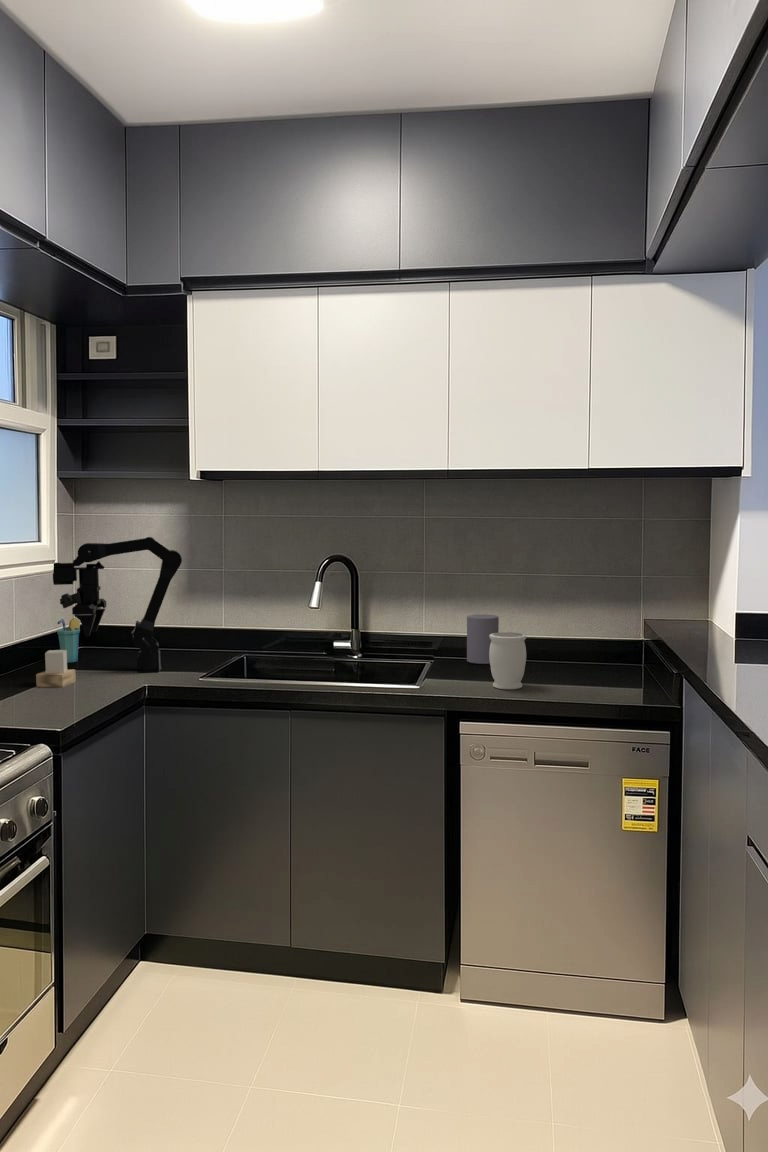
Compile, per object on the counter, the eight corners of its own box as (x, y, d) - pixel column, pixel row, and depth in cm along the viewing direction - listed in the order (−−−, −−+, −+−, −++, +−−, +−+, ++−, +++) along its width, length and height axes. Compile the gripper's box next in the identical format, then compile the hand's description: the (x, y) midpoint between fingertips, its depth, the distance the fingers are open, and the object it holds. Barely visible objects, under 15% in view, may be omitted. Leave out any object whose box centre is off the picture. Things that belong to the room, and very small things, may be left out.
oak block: (75, 682, 261) (75, 669, 261) (62, 688, 253) (62, 674, 253) (50, 682, 262) (49, 669, 262) (36, 687, 254) (36, 674, 254)
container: (485, 657, 295) (485, 613, 294) (504, 662, 286) (505, 617, 285) (460, 661, 290) (460, 615, 289) (479, 665, 281) (479, 619, 280)
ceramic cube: (67, 669, 261) (66, 649, 260) (63, 672, 256) (63, 652, 255) (49, 670, 260) (48, 650, 259) (45, 673, 255) (45, 653, 254)
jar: (516, 692, 242) (517, 638, 241) (482, 688, 248) (483, 635, 246) (531, 685, 251) (532, 633, 250) (498, 681, 257) (498, 630, 255)
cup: (71, 665, 287) (69, 620, 286) (48, 665, 287) (46, 620, 286) (88, 657, 301) (86, 614, 300) (65, 657, 301) (64, 614, 300)
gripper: (70, 581, 279) (71, 630, 280) (53, 587, 260) (55, 639, 261) (106, 581, 280) (107, 629, 281) (92, 586, 261) (94, 638, 262)
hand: (90, 634), depth 271 cm, fingers open, 9 cm apart
